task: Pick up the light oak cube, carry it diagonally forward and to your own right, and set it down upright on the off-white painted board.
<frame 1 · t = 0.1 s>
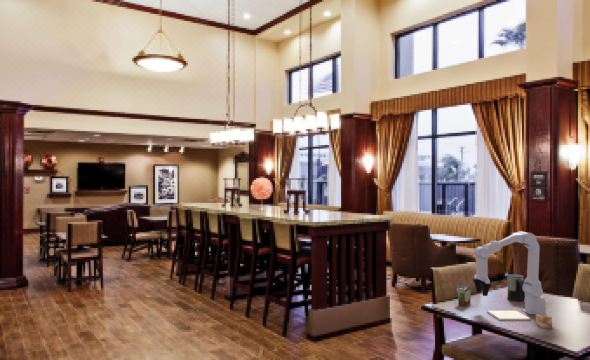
hand: (481, 294, 234), 10 cm above the table, tool pointing down, fingers open, 7 cm apart
food container: (462, 304, 250), on the table
painted board: (508, 316, 227), on the table
oak cube: (543, 325, 212), on the table
milk frother: (522, 301, 258), on the table
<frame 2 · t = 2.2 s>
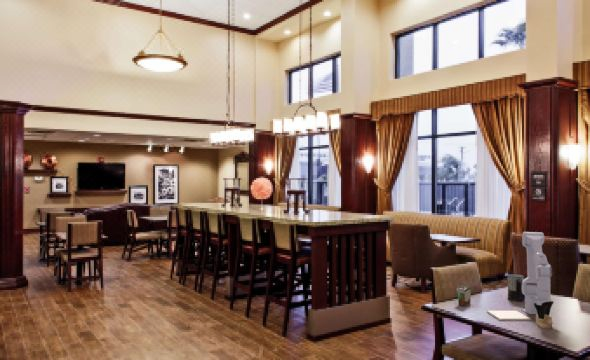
hand: (543, 317, 212), 4 cm above the table, tool pointing down, fingers open, 7 cm apart
oak cube: (543, 326, 212), on the table, touching gripper
everything else where it was.
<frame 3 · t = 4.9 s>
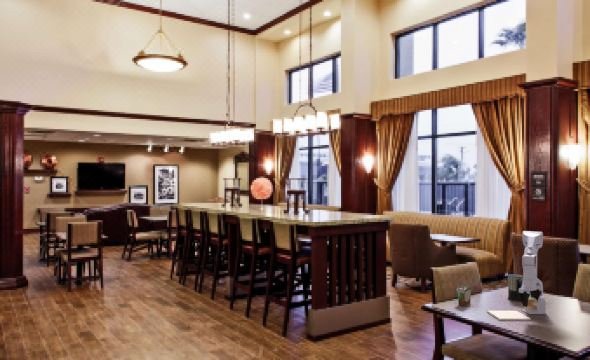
hand: (529, 305, 218), 8 cm above the table, tool pointing down, fingers closed on oak cube, 7 cm apart
oak cube: (529, 308, 218), point 7 cm above the table, touching gripper
everything else where it was.
when the fingers open (4 cm above the table, at t = 7.1 s): oak cube drops 1 cm, resting on painted board.
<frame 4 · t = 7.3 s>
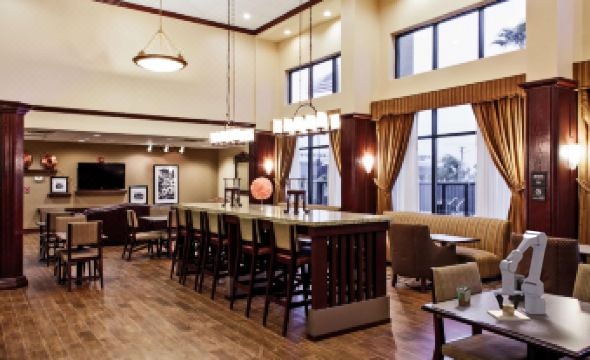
hand: (508, 308, 227), 4 cm above the table, tool pointing down, fingers open, 7 cm apart
oak cube: (508, 314, 227), point 1 cm above the table, touching gripper, painted board
everything else where it was.
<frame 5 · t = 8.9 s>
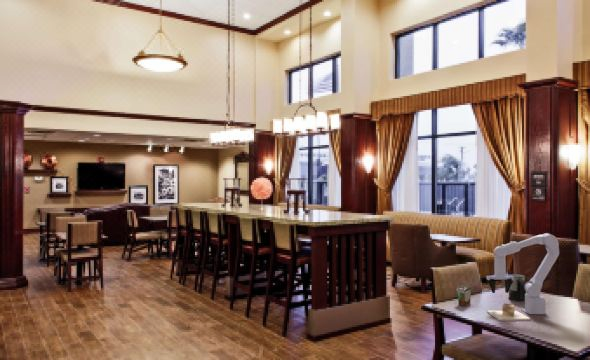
hand: (500, 292, 239), 9 cm above the table, tool pointing down, fingers open, 7 cm apart
oak cube: (508, 314, 227), point 1 cm above the table, touching painted board
everything else where it was.
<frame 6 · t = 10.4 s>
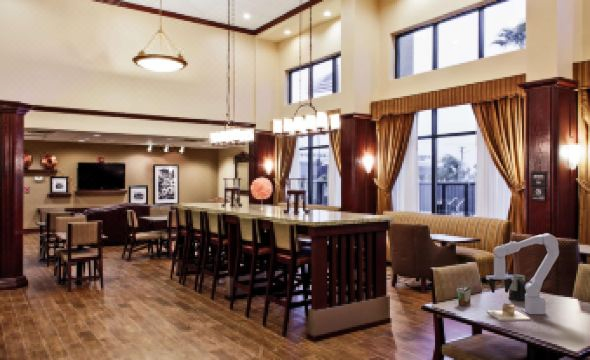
hand: (499, 292, 240), 9 cm above the table, tool pointing down, fingers open, 7 cm apart
at the end: oak cube inside the target area on the painted board (0.3 cm from its centre), point 1.0 cm above the painted board's base; oak cube tilted 0°; the gripper is holding nothing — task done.
